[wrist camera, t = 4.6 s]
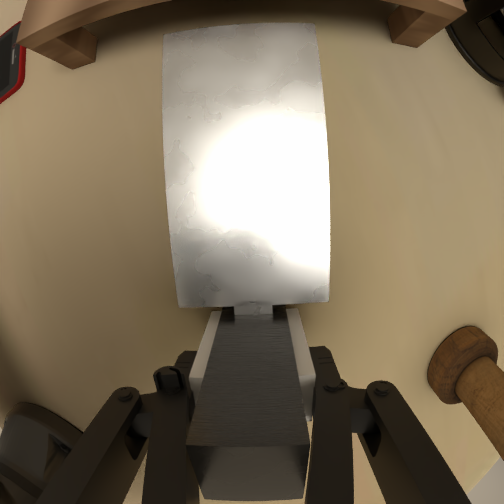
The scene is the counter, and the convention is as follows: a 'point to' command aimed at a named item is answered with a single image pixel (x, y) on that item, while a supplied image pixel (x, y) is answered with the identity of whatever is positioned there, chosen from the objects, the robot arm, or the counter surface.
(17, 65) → the cell phone
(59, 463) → the robot arm
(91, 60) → the low bench
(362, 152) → the counter surface
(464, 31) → the french press
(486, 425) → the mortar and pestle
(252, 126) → the scraper
